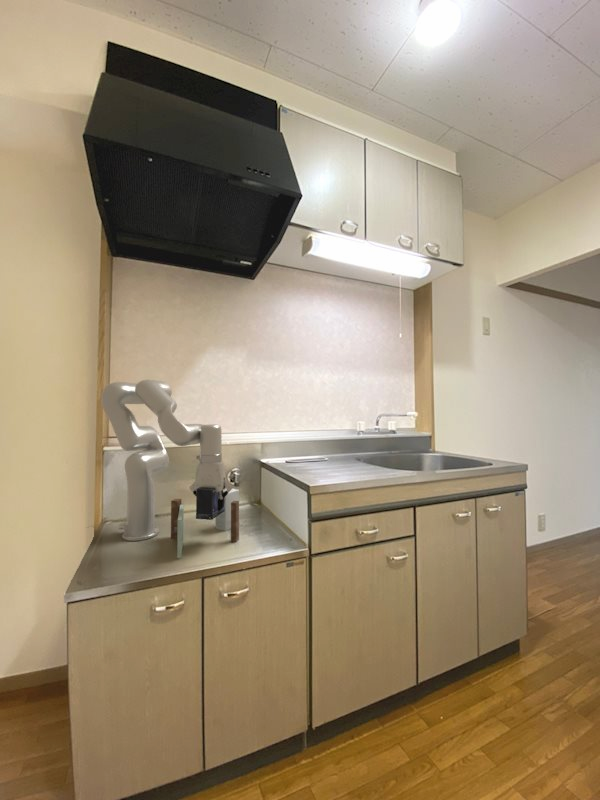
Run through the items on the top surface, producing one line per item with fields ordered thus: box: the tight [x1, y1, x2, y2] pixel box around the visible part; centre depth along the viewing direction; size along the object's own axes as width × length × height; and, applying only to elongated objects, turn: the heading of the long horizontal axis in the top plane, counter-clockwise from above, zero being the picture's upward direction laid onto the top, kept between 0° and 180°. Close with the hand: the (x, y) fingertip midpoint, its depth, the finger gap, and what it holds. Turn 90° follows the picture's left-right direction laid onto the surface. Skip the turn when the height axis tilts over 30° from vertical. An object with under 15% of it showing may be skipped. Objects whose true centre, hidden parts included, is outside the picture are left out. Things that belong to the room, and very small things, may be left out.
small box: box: [195, 487, 226, 521], centre depth 117 cm, size 11×6×10 cm, turn 168°
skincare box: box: [215, 488, 240, 532], centre depth 133 cm, size 8×6×15 cm
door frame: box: [170, 498, 240, 543], centre depth 121 cm, size 25×3×14 cm, turn 83°
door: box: [174, 503, 185, 559], centre depth 114 cm, size 19×3×12 cm, turn 18°
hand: (210, 509), depth 117 cm, fingers closed on small box, 6 cm apart
